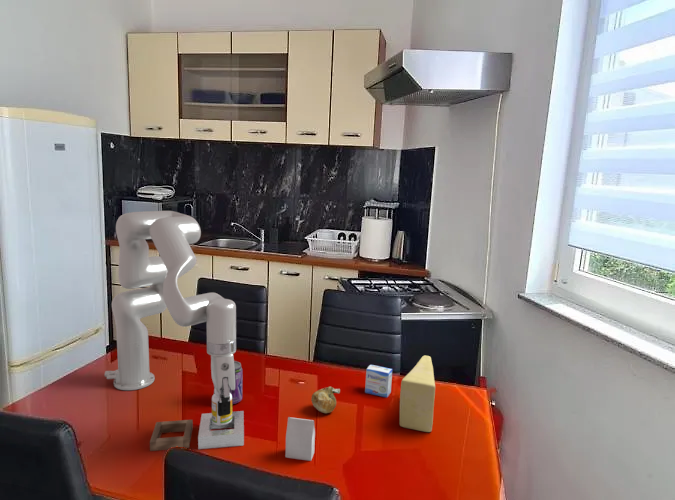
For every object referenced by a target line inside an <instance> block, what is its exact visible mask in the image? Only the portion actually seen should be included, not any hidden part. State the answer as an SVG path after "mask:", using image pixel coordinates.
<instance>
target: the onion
mask: <svg viewBox="0 0 675 500" xmlns="http://www.w3.org/2000/svg"><path fill="white" fill-rule="evenodd" d="M340 393H341V389H340V388H334V387H332V386H328V387H326V386H325V387H324V388H321V389H318V390H316V391H315V392H313V393H312V395H311V404H312V406H313V407H314V408H315V409H316V410H317V411H318V412H320V413H323V414H329V413H332V412H334V410H335V408H336V406H337V398H336V396H335V394H340Z"/></svg>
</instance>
